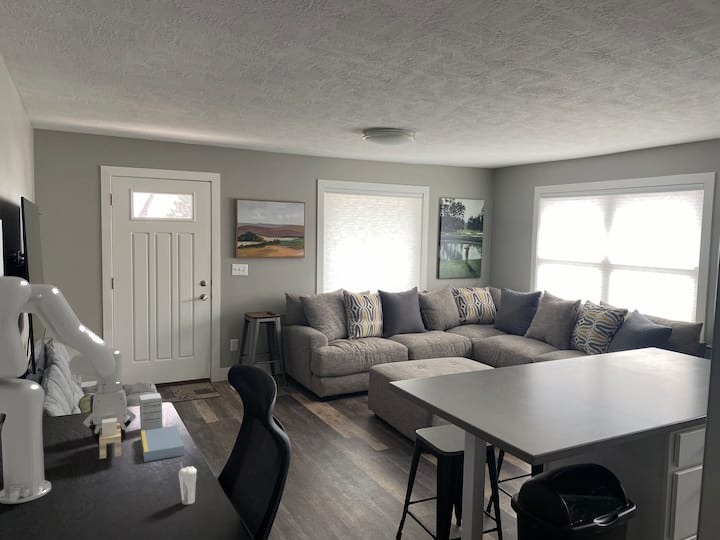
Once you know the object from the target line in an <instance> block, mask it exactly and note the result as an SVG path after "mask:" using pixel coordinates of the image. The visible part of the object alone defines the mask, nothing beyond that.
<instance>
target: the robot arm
mask: <svg viewBox="0 0 720 540" xmlns="http://www.w3.org/2000/svg"><path fill="white" fill-rule="evenodd" d="M22 313H23V314H35V315H36V317H37V318H38V319H39V321H40V322H41V324H42V325H43V327H44V328H45V329H46V332H48V334H49V336H50V337H51V338H52V339H53V340H54V341H56V342H58V343H60V344H61V345H63V346H66V347H68V348H71V349H73V350H75V351H76V352H79V353H77V354H75V355H73V356H72V357H71V358H70V360H69V362H68V370H69V371H70V373H71V374H73V375H74V376H77V377H81V378H93V379H96V383H95V384H94V385H91V390H92V391H95V393H94V394H93V395H94V398H93V413H92V414H91V413H90V414H89V416H88V417H87V418H86V419H85V420H83V425H84V426H86V427H87V428H89V429H90V431H91V430H92V431H94V432H95V433H96V441H95V443H97V446H99V447H100V445H99V438H100V427H101V425H102V419H110V418H117V423H120V425H121V443H124V439H125V440H126V429H127V428H128V427H129V426H130V425H131V423H133V421H134V420H135V419H136V418H137V415H136V414H134V412H132V411H131V410H130V409H128V403H127V394H126V391H125V389H123V360H122V358H123V357H122V351H121V350H120V349H118V348H109V346H108V345H107V343H106V342H105V341H104V340H103V339H102V338H101V337H100V336H99V335H97V334H96V333H95V332H94V331H93V330H91V329H89V327H87V326H86V325H84V324H83V323H82V322H81V321H80V320H79V318H78V317H77V315H76V314H75V312H74V310H73V309H72V307H71V305H70V304H69V302H68V301H67V299H66V298H65V296H64V294H63V293H62V291H61V290H60V289H59V288H58V287H57V286H55V285H53V284H46V283H45V284H44V283H30V282H28V280H26V279H24V278H23V277H18V276H5V275H3V276H0V414H4V415H5V420H4V422H3V424H2V427H1V433H0V434H1V435H0V436H1V437H0V439H1V451H2V453H1V455H2V472H3V473H2V475H3V476H2V477H3V489H2V490H0V503H2V504H6V505H7V504H8V505H14V504H22V503H26V502H31V501H34V500H36V499H39V498H42V497H43V496H45V495H47V494H48V493H49V492H50V491H51V490H52V483H51V481H48V480H45V465H44V464H45V462H44V458H45V457H44V443H43V442H44V440H43V439H44V438H43V411H44V407H45V397H46V396H45V390H44V388H43V387H42V386H41V385H40V384H39V383H38V382H36V381H33V380H30V379H24V378H23V379H22V378H19V377H22V376H23V375H24V374H26V372H27V370H28V367H29V360H28V355H27V352H26V349H25V346H24V342H23V339H22V336H21V333H20V328H19V317H20V314H22ZM128 416H129V418H128ZM92 419H93V424H94V425H96V426H94V425H93V424H91V423H92Z"/></svg>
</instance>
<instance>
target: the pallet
mask: <svg viewBox="0 0 720 540" xmlns="http://www.w3.org/2000/svg"><path fill="white" fill-rule="evenodd" d="M112 443H114V457H120V456H122V442H121V427H120V423H117V435H110V436H102V425H101V427H100V438H99V459H100V460H101V459H106V458H107V447H108V444H112Z"/></svg>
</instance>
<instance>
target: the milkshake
mask: <svg viewBox="0 0 720 540" xmlns="http://www.w3.org/2000/svg"><path fill="white" fill-rule="evenodd" d="M179 465H180V467H181V468H180V470H179V471H178V479H179V480H178V481H179V488H180V495H181V503H182V504H183V505H184V506H185V505H188V506H189V505H192V504H194V503H195V502H196V482H197V472H198V471H197V468H195V466H193V465H192V466H186V467H184V466H183V462H182V461H180V462H179Z"/></svg>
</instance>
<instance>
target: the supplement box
mask: <svg viewBox="0 0 720 540" xmlns="http://www.w3.org/2000/svg"><path fill="white" fill-rule="evenodd" d="M138 399H139V400H138V401H139V419H140V422H139V423H140V424H139V425H140V431H142V430H151V429H158V428H164V425H163V424H164V423H163V404H162V403H163V401H162V399H163V397H162V396H161V393H160V392H156V393H148V394H141V395H139V397H138Z"/></svg>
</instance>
